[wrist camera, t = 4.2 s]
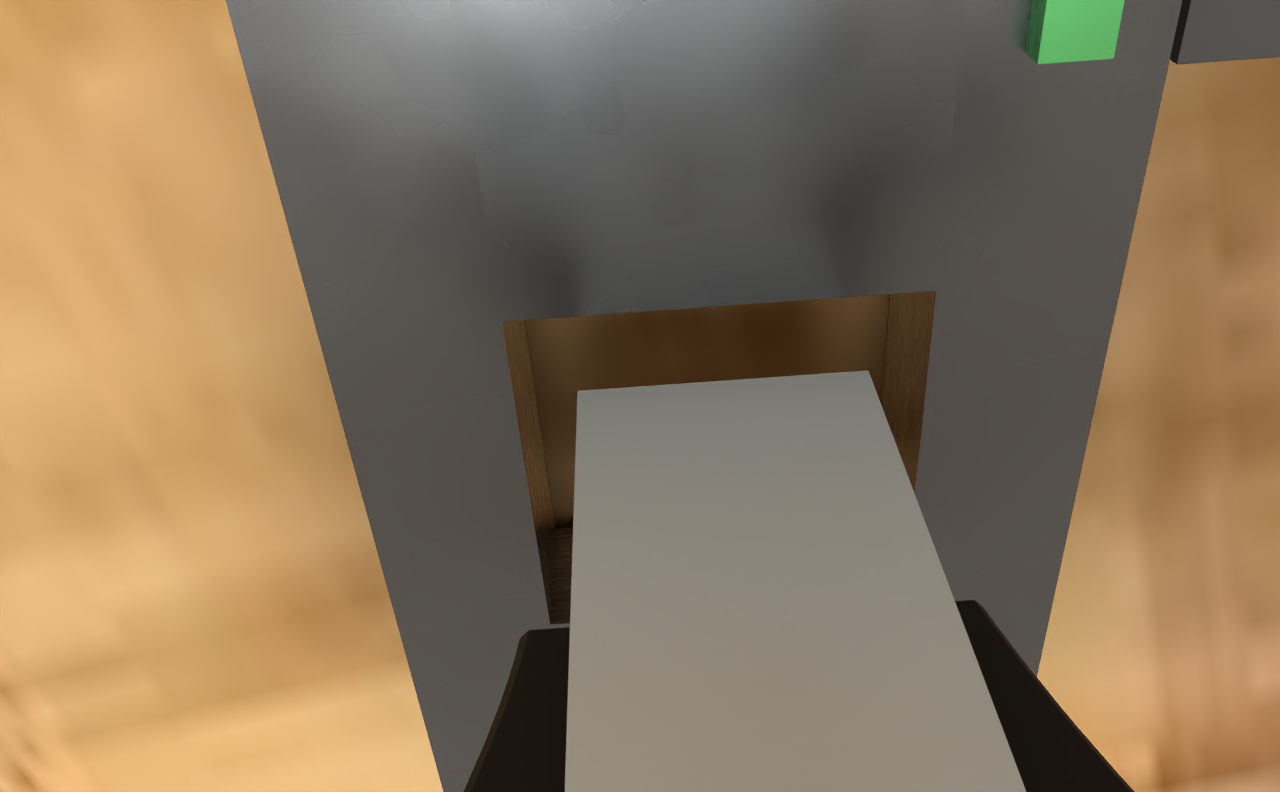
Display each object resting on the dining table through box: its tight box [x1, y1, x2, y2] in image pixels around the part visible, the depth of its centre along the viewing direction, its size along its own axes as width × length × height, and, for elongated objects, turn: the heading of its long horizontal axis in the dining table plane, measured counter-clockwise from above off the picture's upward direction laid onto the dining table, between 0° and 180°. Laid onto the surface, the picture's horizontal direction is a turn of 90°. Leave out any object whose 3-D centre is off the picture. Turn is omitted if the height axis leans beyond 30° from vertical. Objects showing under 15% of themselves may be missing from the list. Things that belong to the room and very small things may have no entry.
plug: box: [565, 370, 1026, 792], centre depth 11 cm, size 4×4×8 cm
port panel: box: [226, 0, 1182, 792], centre depth 16 cm, size 10×16×3 cm, turn 4°
